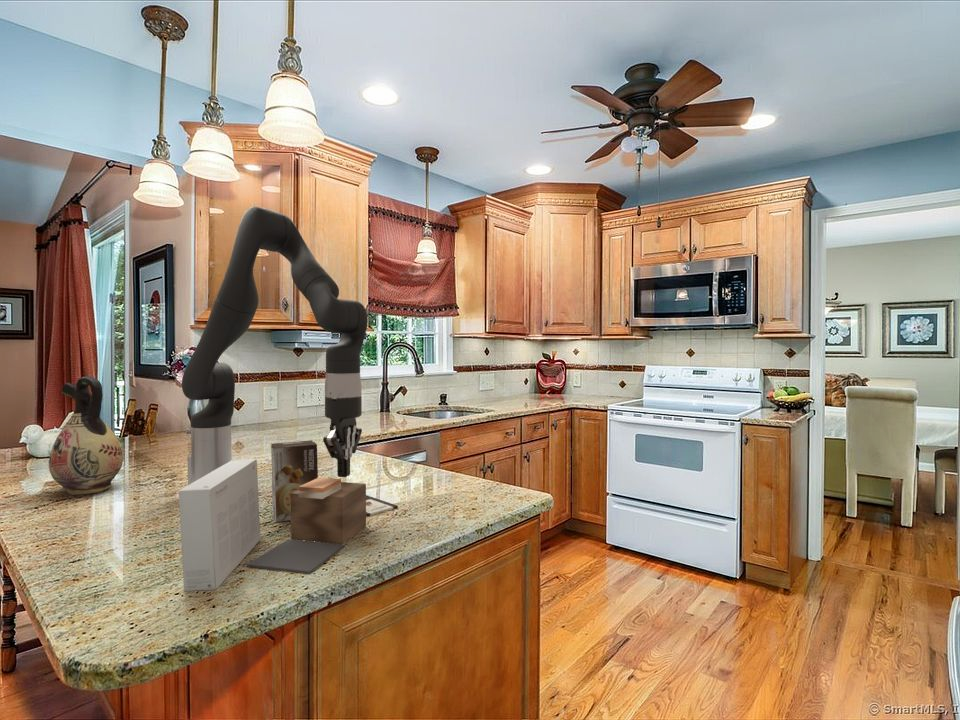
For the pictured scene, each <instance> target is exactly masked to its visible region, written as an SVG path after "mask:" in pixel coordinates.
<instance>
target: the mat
mask: <svg viewBox="0 0 960 720" xmlns="http://www.w3.org/2000/svg"><path fill="white" fill-rule="evenodd" d="M345 547H346V545H345V543H344V544H334V543H324V542H314V541H303V540H293V539H291V538H288V539H286V540H284V541H283V542H281V543H279V544H278V545H276V546H274V547H273V548H270V549H269V550H267V551H266V552H264V553H263V554H261V555H259V556H257V557H256V558H255V559H253V560H250V561H249V562H248V563H247V564H246V565H245V566H246V567H247V568H257V569H265V570H275V571H282V572H283V571H284V572H290V573H292V572H293V573H301V574H308V575H309V574H312V573H313V572H314V571H315V570H317V569H318V568H319V567H320V566H322V565H324V563H326V562H327V561H329V560H330V559H331V558H332V557H334V556H335V555H336V554H337V553H339V552H340V551H341V550H343V549H344V548H345Z"/></svg>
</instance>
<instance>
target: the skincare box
mask: <svg viewBox="0 0 960 720" xmlns="http://www.w3.org/2000/svg"><path fill="white" fill-rule="evenodd" d="M258 480H259V479H258V460H257V459H254V458H253V459H251V458H250V459H236V460H235V459H234V460H233V459H232V460H231V461H230V462H228V463H226V464H224V465H223V466H221V467H219V468H217V469H216V470H214V471H212V472H210V473H209V474H207V475H205V476H203V477H202V478H200V479H198V480H196V481H195V482H193V483H191V484H189V485H188V484H187V485H186V486H184V487H182V488H181V489H179V490H178V503H179V524H180V525H179V527H180V540H181V541H180V542H181V557H182V558H181V560H182V561H181V562H182V564H181V565H182V579H183V581H182V582H183V583H182V584H183V592H195V591H213V590H214V591H215V590H217V589H218V588H219V587H220V586H221V585H222V583H224V581H225V580H226V579H227V578H228V577H230V575H231V573H232V572H233V571H234V570H235V569H236V568H237V567H238V566H239V564H241V562H242V561H243V560H244V559H245V557H247V555H249V553H250V552H252V550H253V549H254V547H256V546H257V544H258V543H259V542H260V541H261V539H262V536H261V534H262V533H261V522H260V521H261V520H260V501H259V500H260V499H259V481H258Z"/></svg>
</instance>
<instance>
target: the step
mask: <svg viewBox="0 0 960 720" xmlns="http://www.w3.org/2000/svg"><path fill="white" fill-rule="evenodd" d="M366 495H367V483H364V482H363V483H361V482H346V481H345V482H344V481H343V482H342V481H341V489H340V490H338V491H337V492H335V493H333V494H331V495H329V496H327V497H325V498H324V499H316V498H303V497H299V490H297V491H295V492H292V493H291V520H290V539H292V540H302V541H303V540H305V541H313V542H314V541H315V542H323V543H333V544H344V545H345V544H346V542H348V541H349V540H350V539H352V538H353V537H354V536H356V535H357V534H359V533H360V532H361V531H362V530H364V529H365V528H367V517H366Z"/></svg>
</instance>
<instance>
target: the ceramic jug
mask: <svg viewBox="0 0 960 720" xmlns="http://www.w3.org/2000/svg"><path fill="white" fill-rule="evenodd" d="M89 388H90V389H89ZM89 390H90V391H89ZM103 393H104V392H103V385H102V383H101V381H100V380H99V379H97V378H95V377H94V376H91V375H85V376H82V377H80V378H78V379H77V381H76V384H75V385H74V384H72V383H71V382H66V383H64V385H63V386H61V394H63V395H64V396H67V397H70V398H72V399H73V400H74V402H75V403H74V411H73V412H72V415H71V417H70V418H69V419H68V420H67V422H66V423H65V424H64V426H63V427H62V429H61V431H60V432H59V434H57V437H56V438H55V441H54V442H53V445H52V447H51V450H50V455H49V460H48V470H49V473H50V476H51V477H52V479H53V480H54V481H55V482H56V483H58V484H59V485H60V486H61V487H62V488H63V489H64V490H65V491H66V493H67V494H68V495H70V496H71V495H73V496H75V495H88V494H94V493H101V492H103V491H105V490H108V489H110V488H111V487H112V481H113V479H115V477H117V475H118V474H119V472H121V471H120V470H121V469H122V467H123V463H124V454H123V450H122V449H123V448H122V446H121V443H120V441H119V439H118V437H117V436H116V434H115V433H114V432H113V430H112V429H111V428H110V427H109V425H108V424H107V423H106V422H105V421H103V420H102V417H101V411H102V403H103V397H104V396H103V395H104V394H103Z"/></svg>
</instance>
